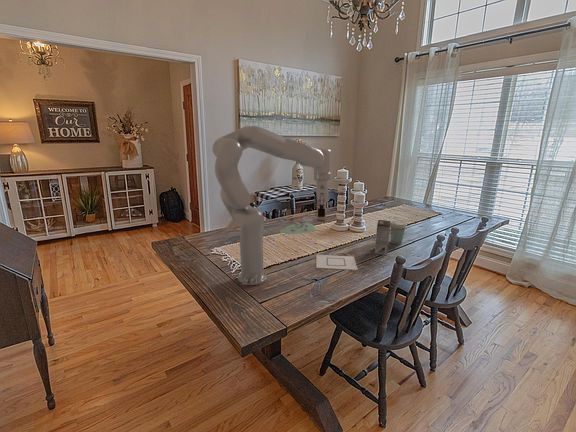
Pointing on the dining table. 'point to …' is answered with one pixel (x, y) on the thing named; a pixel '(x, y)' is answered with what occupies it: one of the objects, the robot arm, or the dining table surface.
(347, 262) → the paper sheet
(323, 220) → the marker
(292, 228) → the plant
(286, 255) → the dining table surface
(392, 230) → the coffee cup
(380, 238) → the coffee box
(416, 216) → the dining table surface
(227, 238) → the dining table surface
